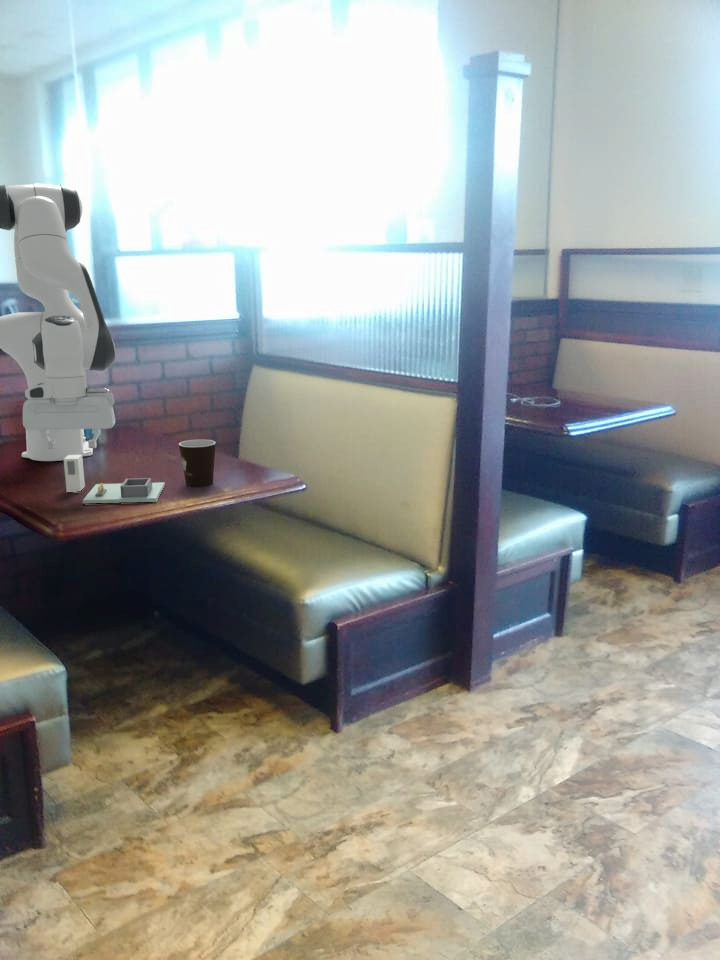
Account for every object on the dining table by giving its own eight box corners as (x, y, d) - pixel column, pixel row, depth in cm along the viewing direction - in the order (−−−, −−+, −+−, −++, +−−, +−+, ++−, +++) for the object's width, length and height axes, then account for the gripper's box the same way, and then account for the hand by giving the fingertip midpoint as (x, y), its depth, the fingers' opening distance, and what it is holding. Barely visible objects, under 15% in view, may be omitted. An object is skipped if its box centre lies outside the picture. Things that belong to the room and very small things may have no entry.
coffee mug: (216, 488, 206) (214, 446, 203) (179, 489, 205) (176, 447, 203) (219, 476, 217) (218, 436, 215) (184, 476, 216) (182, 437, 214)
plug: (71, 487, 207) (68, 454, 205) (85, 487, 207) (82, 454, 205) (66, 493, 202) (62, 459, 200) (80, 493, 202) (77, 459, 200)
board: (96, 488, 206) (95, 473, 206) (164, 486, 208) (164, 472, 207) (83, 504, 193) (81, 489, 192) (156, 502, 194) (155, 487, 193)
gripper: (115, 386, 203) (120, 444, 206) (25, 387, 201) (31, 446, 204) (110, 389, 197) (115, 449, 200) (17, 391, 195) (23, 452, 198)
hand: (72, 448), depth 202 cm, fingers open, 8 cm apart
